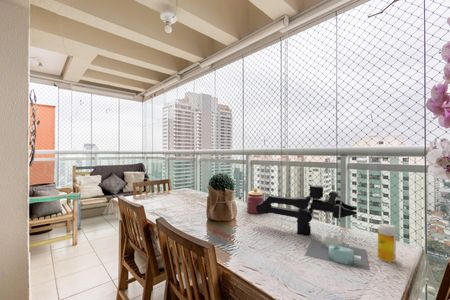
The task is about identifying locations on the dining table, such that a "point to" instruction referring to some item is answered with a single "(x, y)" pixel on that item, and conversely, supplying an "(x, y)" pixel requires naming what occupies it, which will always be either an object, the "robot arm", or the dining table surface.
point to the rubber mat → (322, 253)
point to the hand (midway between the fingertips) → (356, 210)
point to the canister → (254, 201)
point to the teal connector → (342, 255)
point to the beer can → (386, 242)
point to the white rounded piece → (333, 240)
